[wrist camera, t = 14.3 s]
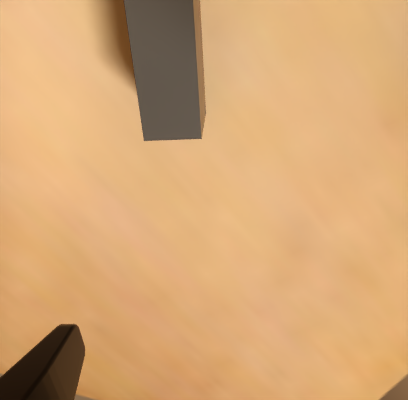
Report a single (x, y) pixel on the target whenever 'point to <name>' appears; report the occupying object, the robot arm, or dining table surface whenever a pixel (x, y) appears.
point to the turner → (168, 67)
